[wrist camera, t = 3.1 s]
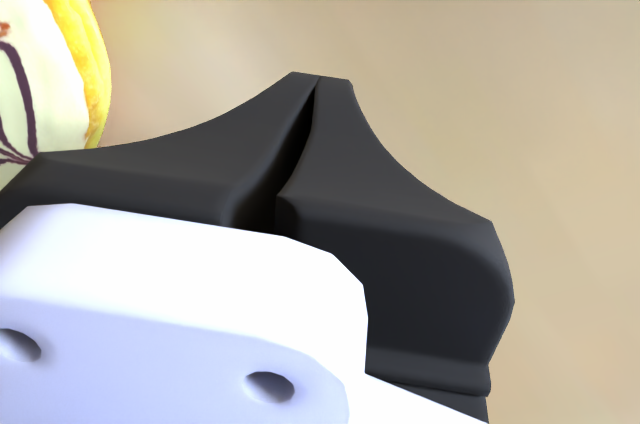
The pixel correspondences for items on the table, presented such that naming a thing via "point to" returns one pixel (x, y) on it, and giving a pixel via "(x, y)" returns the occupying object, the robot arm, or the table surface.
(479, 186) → the table surface
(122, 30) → the table surface
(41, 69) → the decorated donut
